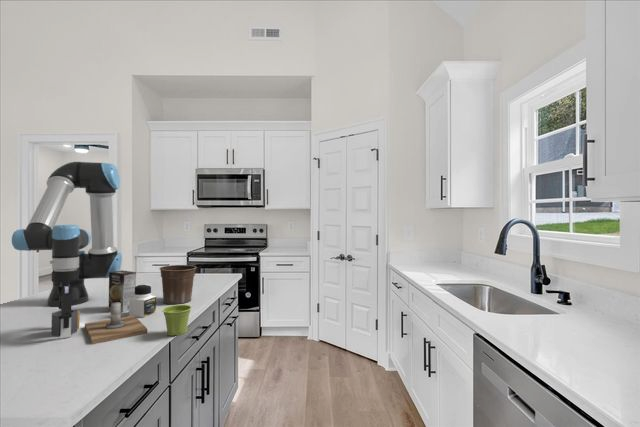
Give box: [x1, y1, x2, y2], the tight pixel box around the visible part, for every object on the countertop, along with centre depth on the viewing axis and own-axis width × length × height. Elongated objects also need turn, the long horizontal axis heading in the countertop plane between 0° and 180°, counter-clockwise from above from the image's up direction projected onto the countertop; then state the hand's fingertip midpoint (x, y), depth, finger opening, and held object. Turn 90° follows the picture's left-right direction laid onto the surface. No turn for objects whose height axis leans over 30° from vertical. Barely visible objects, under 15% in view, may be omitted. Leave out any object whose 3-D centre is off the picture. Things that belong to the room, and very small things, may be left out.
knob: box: [51, 309, 80, 337], centre depth 117 cm, size 7×8×7 cm
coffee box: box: [108, 269, 137, 313], centre depth 147 cm, size 9×6×16 cm
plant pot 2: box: [161, 304, 193, 337], centre depth 118 cm, size 9×9×9 cm
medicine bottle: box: [128, 284, 157, 318], centre depth 139 cm, size 7×7×12 cm
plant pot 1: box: [159, 264, 198, 305], centre depth 161 cm, size 16×16×16 cm
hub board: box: [84, 302, 148, 345], centre depth 120 cm, size 20×16×10 cm
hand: (64, 332), depth 117 cm, fingers open, 12 cm apart
